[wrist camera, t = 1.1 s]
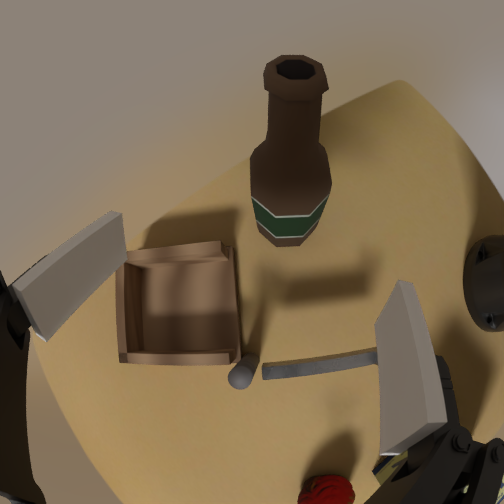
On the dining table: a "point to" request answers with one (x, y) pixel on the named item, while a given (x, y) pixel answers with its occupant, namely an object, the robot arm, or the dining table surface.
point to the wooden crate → (182, 309)
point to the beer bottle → (291, 153)
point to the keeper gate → (319, 364)
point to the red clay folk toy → (327, 491)
